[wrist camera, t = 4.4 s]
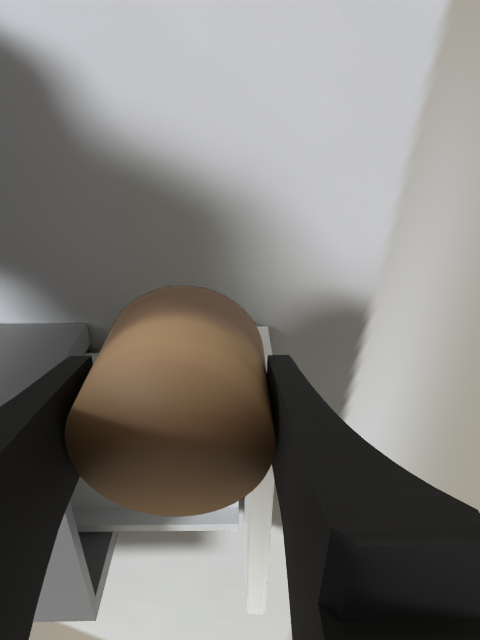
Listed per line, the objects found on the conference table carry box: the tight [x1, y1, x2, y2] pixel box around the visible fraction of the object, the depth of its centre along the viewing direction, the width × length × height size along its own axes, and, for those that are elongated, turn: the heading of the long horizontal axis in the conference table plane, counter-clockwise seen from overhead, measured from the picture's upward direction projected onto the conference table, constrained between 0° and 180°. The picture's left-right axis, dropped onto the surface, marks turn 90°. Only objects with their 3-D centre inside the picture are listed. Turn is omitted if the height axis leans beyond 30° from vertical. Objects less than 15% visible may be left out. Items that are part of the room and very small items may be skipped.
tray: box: [70, 326, 274, 614], centre depth 22 cm, size 15×14×6 cm
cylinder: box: [65, 286, 275, 517], centre depth 12 cm, size 5×5×4 cm
